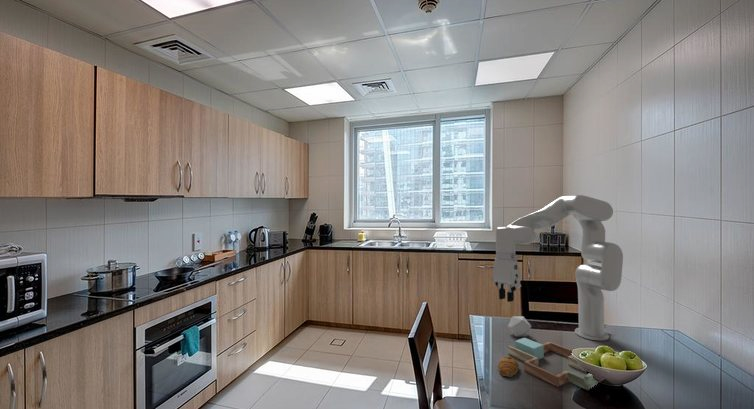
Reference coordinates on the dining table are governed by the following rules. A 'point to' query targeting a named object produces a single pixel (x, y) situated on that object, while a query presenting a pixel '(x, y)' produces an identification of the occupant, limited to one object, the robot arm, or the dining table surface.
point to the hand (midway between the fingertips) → (506, 299)
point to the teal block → (530, 347)
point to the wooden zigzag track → (556, 380)
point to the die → (519, 326)
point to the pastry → (508, 366)
